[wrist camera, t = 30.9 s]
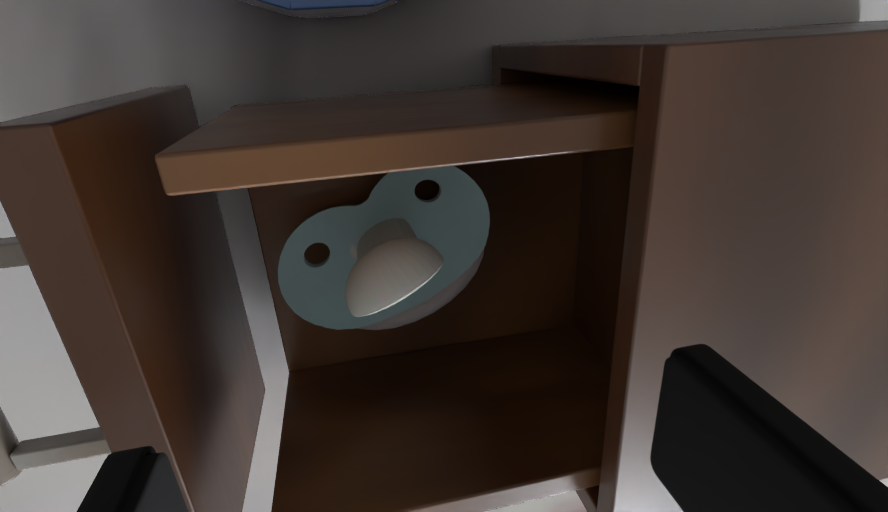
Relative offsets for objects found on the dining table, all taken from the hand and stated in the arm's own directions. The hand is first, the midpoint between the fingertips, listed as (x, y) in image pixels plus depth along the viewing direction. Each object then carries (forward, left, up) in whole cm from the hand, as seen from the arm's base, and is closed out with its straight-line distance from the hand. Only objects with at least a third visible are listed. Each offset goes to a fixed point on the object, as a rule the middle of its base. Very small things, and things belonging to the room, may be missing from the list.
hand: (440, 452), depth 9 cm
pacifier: (0, 0, -10) cm, 10 cm away
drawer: (-2, 0, -11) cm, 12 cm away
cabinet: (+13, 0, -12) cm, 18 cm away
